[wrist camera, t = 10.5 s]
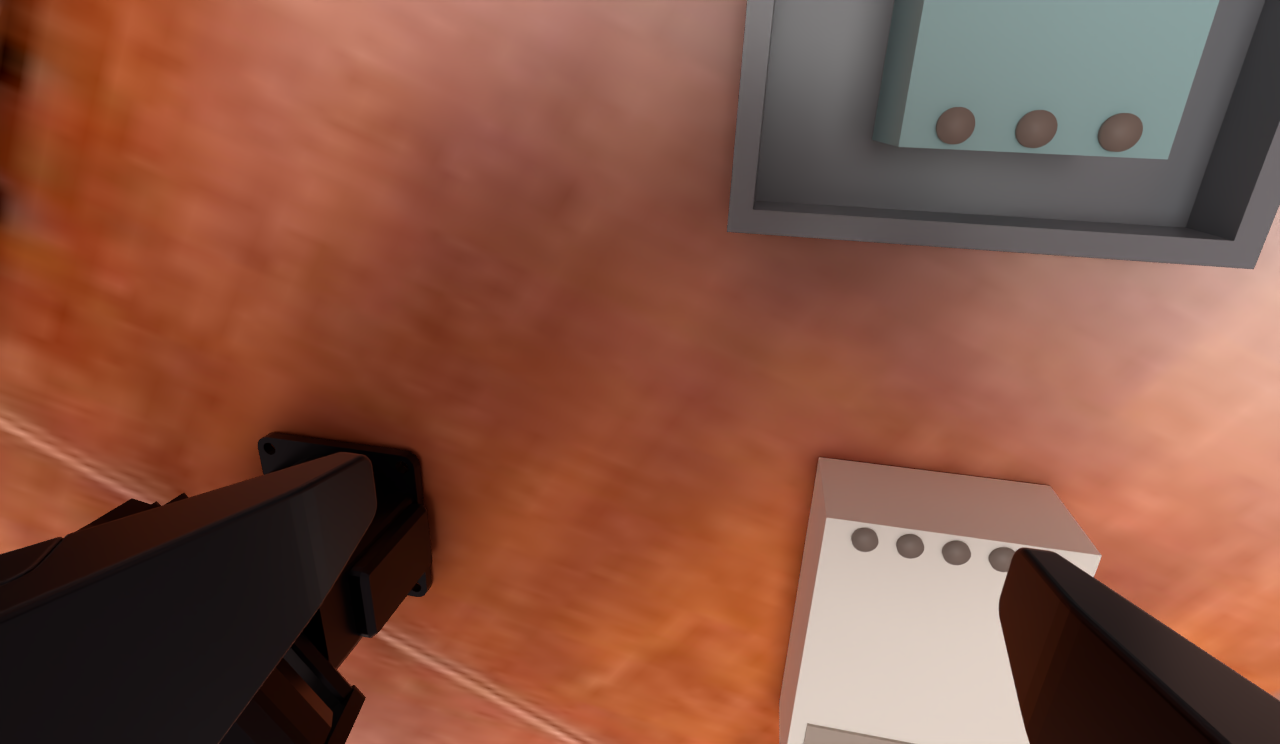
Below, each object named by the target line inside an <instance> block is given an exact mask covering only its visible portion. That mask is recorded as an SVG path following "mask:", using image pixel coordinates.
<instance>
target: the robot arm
mask: <svg viewBox="0 0 1280 744" xmlns="http://www.w3.org/2000/svg"><path fill="white" fill-rule="evenodd" d="M271 444H272V445H273V446H274V447H275V448H274V447H273V446H272V445H271ZM258 450H259V455H260V460H261V464H262V469H263V474H264V475H262V476H259V477H256V478H252V479H249V480H246V481H243V482H239V483H236V484H233V485H229V486H226V487H223V488H219V489H216V490H213V491H210V492H206V493H203V494H200V495H196V496H193V497H190V498H188V496H187V495H186V494H185V493H183V494H181V495H179V496H178V497H176V498H175V499H173V500H171V501H170V502H168V503H167V504H165V505H163V506H161V505H160V504H159V503H158V502H157V501H156V502H155V503H153V504H148V503H145V502H142V501H138V500H135V499H130V500H129V501H127V502H125V503H124V504H122V505H120V506H118V507H117V508H115V509H113V510H112V511H110V512H108V513H107V514H105V515H103V516H102V517H100V518H98V519H97V520H95V521H93V522H92V523H90V524H88V525H86V526H85V527H83V528H81V529H79V530H78V531H76V532H74V533H71V534H68V535H66V536H65V537H64V538H62V537H57V538H54V539H51V540H47V541H44V542H41V543H37V544H34V545H31V546H27V547H24V548H21V549H17V550H14V551H10V552H7V553H4V554H0V744H345V742H346V740H347V738H348V736H349V734H350V731H351V729H352V727H353V725H354V723H355V720H356V718H357V716H358V714H359V712H360V709H361V707H362V705H363V703H364V701H365V698H366V697H365V696H364V695H363V694H362V693H361V692H360V691H359V689H358V688H357V687H356V686H355V685H353V686H351V685H350V684H349V683H348V682H347V681H346V680H345V678H344V677H343V676H342V675H341V674H340V673H339V672H338V671H337V669H338V667H339V666H340V665H341V664H342V662H343V661H344V660H345V659H346V657H347V656H348V655H349V654H350V652H351V651H352V650H353V648H354V647H355V646H356V645H357V643H358V642H359V641H360V640H361V638H362V637H368V638H372V637H373V636H374V635H376V634H377V633H378V632H379V631H380V630H381V629H382V627H383V626H384V625H385V623H386V622H387V621H388V619H389V618H390V617H391V615H392V614H393V613H394V612H395V610H396V609H397V608H398V606H399V605H400V604H401V602H402V601H403V600H404V599H405V597H406V596H407V595H409V596H415V597H421V596H424V595H425V594H426V592H427V591H428V590H429V588H430V587H431V584H432V579H431V570H430V565H431V563H432V554H431V544H430V534H429V524H428V514H427V510H426V508H425V506H424V501H423V491H422V481H421V472H420V463H419V460H418V458H417V457H416V455H414V454H413V453H412V452H409V451H406V450H399V449H392V448H385V447H377V446H370V445H363V444H355V443H348V442H341V441H333V440H326V439H319V438H311V437H304V436H297V435H289V434H282V433H275V432H274V433H269V434H268V435H266V436H264V437H263V438H261V439H260V440H259V442H258ZM401 461H402V462H404V463H405V464H406V465H407V466H408V468H406V467H404V466H403V465H402V463H401ZM417 583H419V584H420V585H419V584H417ZM999 618H1000V623H1001V627H1002V632H1003V636H1004V641H1005V645H1006V649H1007V654H1008V658H1009V663H1010V667H1011V671H1012V676H1013V680H1014V685H1015V689H1016V693H1017V698H1018V702H1019V707H1020V711H1021V715H1022V719H1023V723H1024V727H1025V731H1026V734H1027V737H1028V740H1029V743H1030V744H1280V701H1279V700H1278V699H1276V698H1275V697H1273V696H1272V695H1270V694H1269V693H1267V692H1266V691H1264V690H1263V689H1261V688H1260V687H1258V686H1257V685H1255V684H1254V683H1252V682H1251V681H1249V680H1247V679H1246V678H1244V677H1243V676H1241V675H1240V674H1238V673H1237V672H1235V671H1234V670H1232V669H1231V668H1229V667H1228V666H1226V665H1225V664H1223V663H1222V662H1220V661H1219V660H1217V659H1216V658H1214V657H1213V656H1211V655H1210V654H1208V653H1207V652H1205V651H1204V650H1202V649H1201V648H1199V647H1198V646H1196V645H1195V644H1193V643H1192V642H1190V641H1189V640H1187V639H1186V638H1184V637H1183V636H1181V635H1180V634H1178V633H1177V632H1175V631H1174V630H1172V629H1171V628H1169V627H1168V626H1166V625H1165V624H1163V623H1162V622H1160V621H1158V620H1157V619H1155V618H1154V617H1152V616H1151V615H1149V614H1148V613H1146V612H1145V611H1143V610H1142V609H1140V608H1139V607H1137V606H1136V605H1134V604H1133V603H1131V602H1130V601H1128V600H1127V599H1125V598H1124V597H1122V596H1121V595H1119V594H1118V593H1116V592H1115V591H1113V590H1112V589H1110V588H1109V587H1107V586H1106V585H1104V584H1103V583H1101V582H1100V581H1098V580H1097V579H1095V578H1094V577H1092V576H1091V575H1089V574H1088V573H1086V572H1085V571H1083V570H1082V569H1080V568H1079V567H1077V566H1076V565H1074V564H1073V563H1071V562H1070V561H1068V560H1066V559H1065V558H1063V557H1062V556H1060V555H1059V554H1057V553H1056V552H1053V551H1048V550H1041V549H1034V548H1026V547H1021V548H1019V549H1018V550H1016V552H1015V553H1014V555H1013V557H1012V559H1011V563H1010V566H1009V569H1008V572H1007V576H1006V579H1005V582H1004V585H1003V588H1002V592H1001V595H1000V599H999Z"/></svg>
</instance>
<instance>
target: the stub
mask: <svg viewBox="0 0 1280 744" xmlns="http://www.w3.org/2000/svg"><path fill="white" fill-rule="evenodd" d="M1218 3H1219V0H895V1H894V7H893V13H892V20H891V26H890V32H889V38H888V44H887V51H886V57H885V63H884V69H883V75H882V81H881V88H880V94H879V100H878V106H877V112H876V119H875V125H874V131H873V137H872V140H874V141H878V142H882V143H886V144H889V145H893V146H897V147H912V148H933V149H954V150H976V151H997V152H1018V153H1039V154H1061V155H1082V156H1103V157H1125V158H1146V159H1167V160H1168V157H1169V154H1170V151H1171V148H1172V144H1173V141H1174V138H1175V135H1176V132H1177V129H1178V126H1179V123H1180V120H1181V117H1182V114H1183V111H1184V108H1185V105H1186V102H1187V98H1188V95H1189V92H1190V89H1191V86H1192V83H1193V80H1194V77H1195V74H1196V71H1197V68H1198V65H1199V62H1200V59H1201V56H1202V52H1203V49H1204V46H1205V43H1206V40H1207V37H1208V34H1209V31H1210V28H1211V25H1212V22H1213V19H1214V16H1215V13H1216V10H1217V6H1218Z"/></svg>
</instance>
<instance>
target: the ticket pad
mask: <svg viewBox="0 0 1280 744" xmlns="http://www.w3.org/2000/svg"><path fill="white" fill-rule="evenodd" d="M1021 547H1026V548H1034V549H1041V550H1048V551H1053V552H1056V553H1057V554H1059V555H1060V556H1062V557H1063V558H1065V559H1066V560H1068V561H1070V562H1071V563H1073V564H1074V565H1076V566H1077V567H1079V568H1080V569H1082V570H1083V571H1085V572H1086V573H1088V574H1089V575H1091V576H1092V577H1094V575H1095V572H1096V570H1097V567H1098V564H1099V562H1100V559H1101V556H1102V555H1101V554H1100V553H1099V551H1098V550H1097V549H1096V547H1095V546H1094V545H1093V543H1092V542H1091V540H1090V539H1089V538H1088V536H1087V535H1086V534H1085V532H1084V531H1083V530H1082V528H1081V527H1080V526H1079V524H1078V523H1077V522H1076V520H1075V519H1074V517H1073V516H1072V515H1071V513H1070V512H1069V511H1068V509H1067V508H1066V507H1065V505H1064V504H1063V503H1062V501H1061V500H1060V499H1059V497H1058V496H1057V494H1056V493H1055V492H1054V490H1053V489H1052V488H1051V486H1048V485H1040V484H1032V483H1024V482H1016V481H1008V480H1000V479H992V478H983V477H975V476H967V475H959V474H951V473H943V472H935V471H927V470H919V469H911V468H903V467H895V466H887V465H879V464H871V463H863V462H855V461H847V460H839V459H830V458H822V457H819V459H818V466H817V472H816V478H815V484H814V490H813V497H812V503H811V509H810V515H809V521H808V528H807V534H806V540H805V546H804V552H803V559H802V565H801V571H800V577H799V583H798V590H797V596H796V602H795V608H794V614H793V621H792V627H791V633H790V639H789V645H788V652H787V658H786V664H785V670H784V676H783V683H782V689H781V695H780V701H779V744H1030V743H1029V740H1028V737H1027V734H1026V731H1025V727H1024V723H1023V719H1022V715H1021V711H1020V707H1019V702H1018V698H1017V693H1016V689H1015V685H1014V680H1013V676H1012V671H1011V667H1010V663H1009V658H1008V654H1007V649H1006V645H1005V641H1004V636H1003V632H1002V627H1001V623H1000V618H999V599H1000V595H1001V592H1002V588H1003V585H1004V582H1005V579H1006V576H1007V572H1008V569H1009V566H1010V563H1011V559H1012V557H1013V555H1014V553H1015V552H1016V550H1018V549H1019V548H1021Z"/></svg>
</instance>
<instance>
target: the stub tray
mask: <svg viewBox="0 0 1280 744" xmlns="http://www.w3.org/2000/svg"><path fill="white" fill-rule="evenodd" d="M894 1H895V0H747V9H746V20H745V32H744V43H743V54H742V66H741V77H740V89H739V100H738V111H737V123H736V134H735V146H734V157H733V168H732V180H731V191H730V202H729V214H728V225H727V232H736V233H751V234H765V235H779V236H793V237H807V238H821V239H835V240H849V241H863V242H877V243H891V244H906V245H920V246H934V247H948V248H962V249H976V250H990V251H1004V252H1018V253H1032V254H1046V255H1061V256H1075V257H1089V258H1103V259H1117V260H1131V261H1145V262H1159V263H1173V264H1187V265H1202V266H1216V267H1230V268H1244V269H1254V267H1255V265H1256V262H1257V260H1258V257H1259V255H1260V252H1261V250H1262V247H1263V245H1264V242H1265V240H1266V237H1267V235H1268V232H1269V230H1270V227H1271V225H1272V222H1273V220H1274V217H1275V215H1276V212H1277V210H1278V207H1279V205H1280V0H1219V3H1218V6H1217V10H1216V13H1215V16H1214V19H1213V22H1212V25H1211V28H1210V31H1209V34H1208V37H1207V40H1206V43H1205V46H1204V49H1203V52H1202V56H1201V59H1200V62H1199V65H1198V68H1197V71H1196V74H1195V77H1194V80H1193V83H1192V86H1191V89H1190V92H1189V95H1188V98H1187V102H1186V105H1185V108H1184V111H1183V114H1182V117H1181V120H1180V123H1179V126H1178V129H1177V132H1176V135H1175V138H1174V141H1173V144H1172V148H1171V151H1170V154H1169V157H1168V160H1167V159H1146V158H1125V157H1103V156H1082V155H1061V154H1039V153H1018V152H997V151H976V150H954V149H933V148H912V147H897V146H893V145H889V144H886V143H882V142H878V141H874V140H872V137H873V131H874V125H875V119H876V112H877V106H878V100H879V94H880V88H881V81H882V75H883V69H884V63H885V57H886V51H887V44H888V38H889V32H890V26H891V20H892V13H893V7H894Z"/></svg>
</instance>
